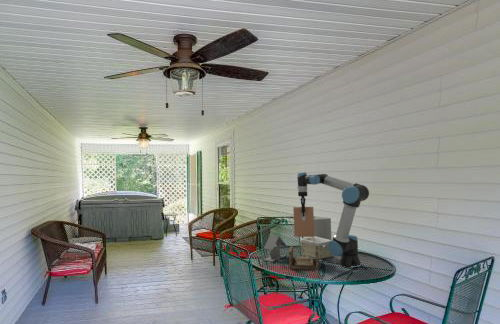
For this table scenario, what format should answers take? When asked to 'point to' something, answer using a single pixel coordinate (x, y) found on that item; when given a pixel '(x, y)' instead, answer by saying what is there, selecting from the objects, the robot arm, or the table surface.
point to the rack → (292, 266)
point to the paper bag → (322, 227)
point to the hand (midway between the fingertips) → (303, 219)
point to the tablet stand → (270, 245)
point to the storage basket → (310, 247)
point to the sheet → (303, 222)
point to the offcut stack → (303, 261)
